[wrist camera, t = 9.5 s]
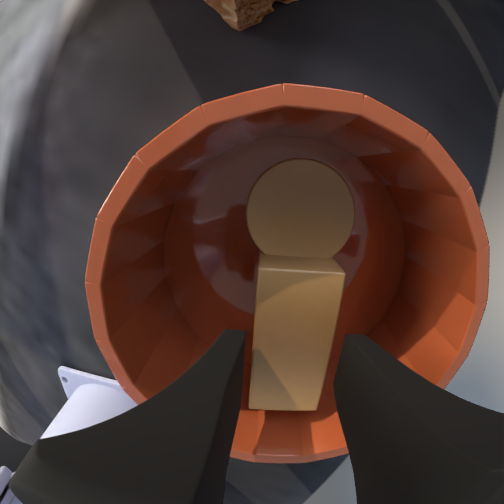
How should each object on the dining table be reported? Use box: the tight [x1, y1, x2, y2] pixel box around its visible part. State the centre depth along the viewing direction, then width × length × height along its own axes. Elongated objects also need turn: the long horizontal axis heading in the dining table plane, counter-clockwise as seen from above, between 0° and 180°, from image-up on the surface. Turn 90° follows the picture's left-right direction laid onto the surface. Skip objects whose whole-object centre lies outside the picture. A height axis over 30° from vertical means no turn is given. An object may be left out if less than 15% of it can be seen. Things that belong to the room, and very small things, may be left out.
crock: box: [85, 83, 489, 463], centre depth 11 cm, size 12×12×6 cm
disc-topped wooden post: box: [246, 158, 355, 411], centre depth 10 cm, size 9×4×3 cm, turn 177°
